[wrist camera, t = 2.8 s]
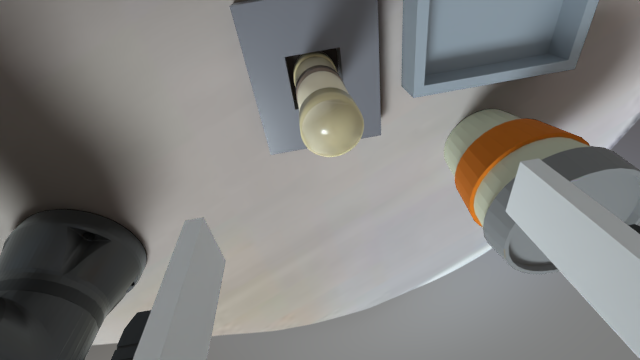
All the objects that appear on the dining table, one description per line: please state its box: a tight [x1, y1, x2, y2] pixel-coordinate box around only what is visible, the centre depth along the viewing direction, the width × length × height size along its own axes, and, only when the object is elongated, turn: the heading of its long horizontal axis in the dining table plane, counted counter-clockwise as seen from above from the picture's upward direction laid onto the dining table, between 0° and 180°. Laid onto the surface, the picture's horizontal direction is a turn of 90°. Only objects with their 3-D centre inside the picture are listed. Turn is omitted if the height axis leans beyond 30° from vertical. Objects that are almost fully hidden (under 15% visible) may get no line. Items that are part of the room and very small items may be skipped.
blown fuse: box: [293, 51, 364, 157], centre depth 25 cm, size 4×4×13 cm
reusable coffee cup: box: [444, 109, 640, 274], centre depth 31 cm, size 13×13×15 cm
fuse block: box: [230, 0, 381, 155], centre depth 29 cm, size 14×12×2 cm
